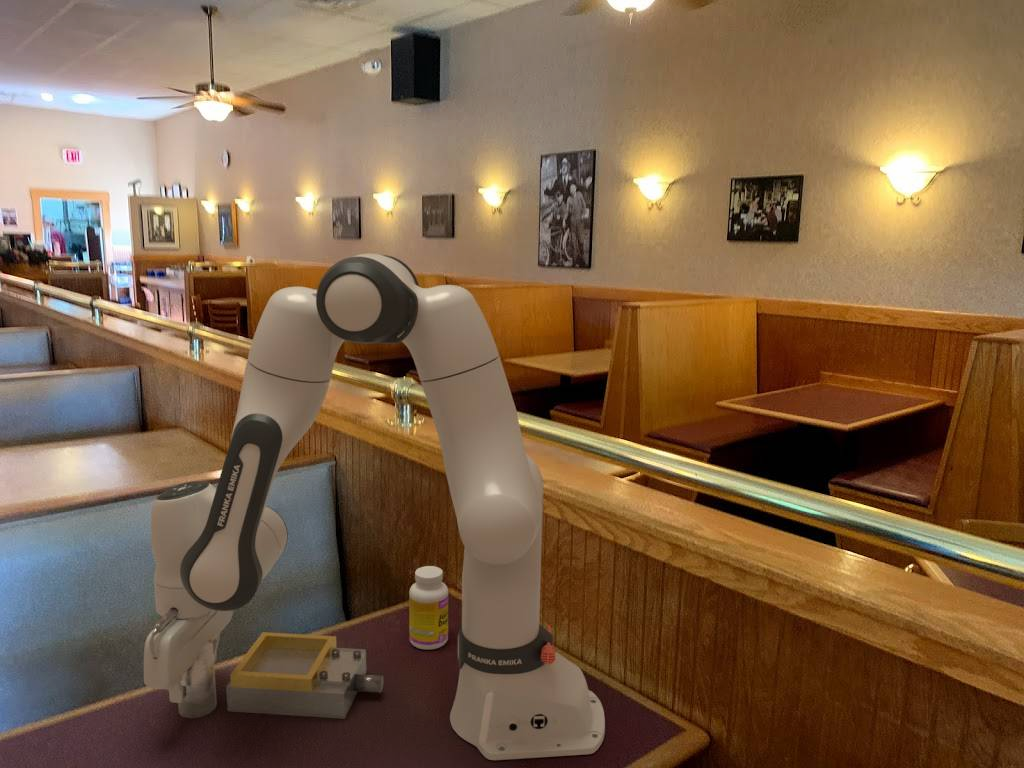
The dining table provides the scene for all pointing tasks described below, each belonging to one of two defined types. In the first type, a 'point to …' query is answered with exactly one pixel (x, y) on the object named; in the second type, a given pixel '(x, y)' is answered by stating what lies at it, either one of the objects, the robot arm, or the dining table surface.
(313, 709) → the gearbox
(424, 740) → the dining table surface
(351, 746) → the dining table surface
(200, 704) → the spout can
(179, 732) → the dining table surface
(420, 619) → the supplement bottle
